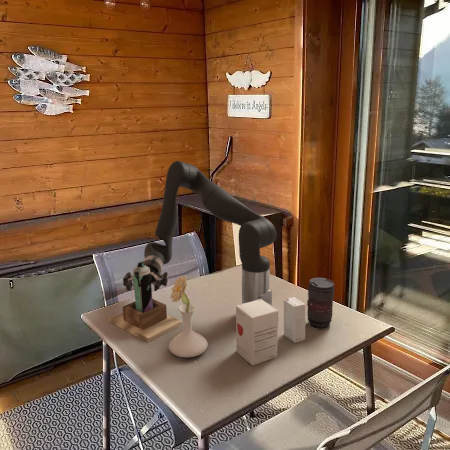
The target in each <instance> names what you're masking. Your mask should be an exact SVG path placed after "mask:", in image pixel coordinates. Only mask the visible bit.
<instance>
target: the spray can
mask: <svg viewBox="0 0 450 450" xmlns="http://www.w3.org/2000/svg"><path fill="white" fill-rule="evenodd" d="M132 275H133V279H134V286H133V289H134V301H135V303H136V310H138V311H140V312H142V313H144V312H146V311H148V310H150V309H152V308H153V301H152V299H153V290H152V289H153V288H152V284H151V274H150V268H149V267H147V266H146V265H144V262H143V260H142V261H139V262H137V265H136V267H133V269H132Z"/></svg>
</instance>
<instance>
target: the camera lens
mask: <svg viewBox="0 0 450 450" xmlns="http://www.w3.org/2000/svg"><path fill="white" fill-rule="evenodd" d="M307 286H308V289H307V290H308V291H307V297H308V299H307V302H306V303H307V304H306V307H307V310H306V311H307V312H306V313H307V321H308V325H309V326H310V327H311V328H312V327H313V329H315V328H316V330H326V329H328V328H329V327H330V326H331V322H332V318H333V306H334V305H333V304H334V298H335V282H333V280H331V279H328V278H325V277H313V278H311V279H309V283H308V285H307Z"/></svg>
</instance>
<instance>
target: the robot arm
mask: <svg viewBox="0 0 450 450" xmlns="http://www.w3.org/2000/svg"><path fill="white" fill-rule="evenodd" d="M180 188H184V189H188V190H190V191H192V192H193V193H194V194H196V195H197V196H198V197H199V198H200V201H201V204H202V205H203V207H204V209H206V210H207V211H208V212H209V213H210V214H212V215H213V216H215V217H216V218H218V219H220V220H223V221H225V222H228V223H231V224H235V225H238V226H240V227H239V230H238V249H239V250H238V251H239V252H238V253H239V254H238V255H239V259H240V262H241V304H244V303H248V302H252V301H255V300H259V299H262V300H263V301H265V302H266V303H268V304H270V305H271V306H272V307H273V290H272V289H270V287H271V285H270V284H271V283H270V282H271V280H270V276H271V275H270V274H271V261H270V259H269V258H268V257H267V256H265V255H261V249H262V248H266V247H268V246H270V245H273V244H274V243H275V242H276V240H277V234H278V233H277V230H276V227H275V226H274V224H273V223H272V222H271V221H270V220H269V219H267V218H266V217H265V216H263V215H261V214H259V213H258V212H255V211H253V210H252V209H251V208H249V207H248V206H246V205H245V204H244V203H242V202H241V201H240V200H238V199H236V198H235V197H234V196H233V195H232V194H230V193H229V192H227V190H225V189H224V188H222V187H221V186H219V185H218V184H217V183H215V182H213V181H211V180H210V179H209V178H208V177H207V176H206V175H205V174H204V173H203V172H202V171H201V170H200V169H199V168H198V167H197V166H196V165H194V164H191V163H188V162H184V161H181V160H180V161H179V160H176V161H173V162H172V163H171V164H170V166H169V167H168V170H167V172H166V178H165V186H164V191H163V200H162V205H161V210H160V214H159V217H158V218H159V219H158V222H157V224H156V227H155V231H154V235H155V236H156V237H157V238H158V239H160V240H161V241H163V242H164V244H165V245H164V244H162V243H159V242H154V241H151V242H148V243H147V244H146V245H145V248H144V251H143V252H144V253H143V254H144V259H143V260H142V261H143V262H144V265H146V266H147V267H149V268H150V274H151V285H153V290H154V292H157V291H158V290H160V288H161V286H163V287H167V285H168V280H169V277H168V276H169V274H168V272H163V273H162V271H163V266H164V265H167V264H169V263H170V261H171V260H172V258H173V257H172V256H173V239H174V234H175V232H176V229H177V224H178V221H179V213H178V207H177V206H178V205H177V196H178V195H177V194H178V192H179V189H180ZM122 281H123V282H122V285H123V286H124V287H125V288H126V289H125V290H127V291H128V292H131V290H132V288H133V287H134V279H133V274H132V273H131V272H129V271H128V272H127V273H126V274H125V275H124V277H123V278H122Z"/></svg>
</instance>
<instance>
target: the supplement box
mask: <svg viewBox="0 0 450 450" xmlns="http://www.w3.org/2000/svg"><path fill="white" fill-rule="evenodd" d="M235 318H236V319H235V322H236V323H235V326H236V328H235V333H236V334H235V336H236V340H235V341H236V342H235V343H236V344H235V346H236V347H235V349H236V350H235V351H236V353H238V354H239V355H240V356H241V357H242V358H243V359H244V360H246V362H248V363H249V364H250V366H256V365H257V364H261V363H264V362H266V361H269V360H272V359H276V358H277V357H278V340H279V339H278V338H279V336H278V334H279V333H278V332H279V310H278V309H277V308H275V307H273V305H272V306H271V305H270V304H268V303H266V302H265V301H263V300H262V299H259V300H255V301H252V302H248V303H244V304H242V303H241V304H238V305H236V306H235Z"/></svg>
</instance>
